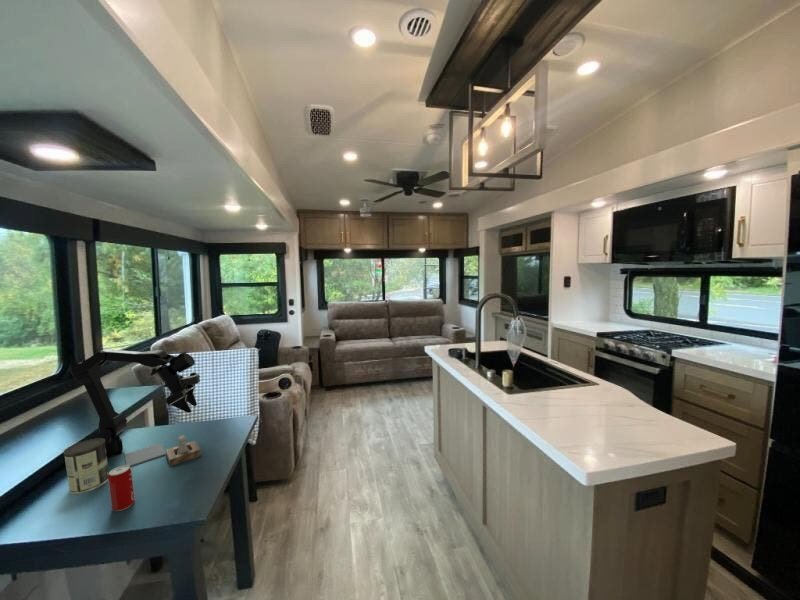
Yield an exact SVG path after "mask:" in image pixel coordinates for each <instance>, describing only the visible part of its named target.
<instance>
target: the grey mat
mask: <svg viewBox="0 0 800 600" xmlns="http://www.w3.org/2000/svg"><path fill="white" fill-rule="evenodd" d="M165 456H166V449H165V448H164V446H163V443H162V442H159V443H156V444H154V445H149V446H148V447H144V448H141V449H138V450H134V451H130V452H128V453H125V454H124V458H125V465H129V466H130V468H132V467H134V466H137V465H141V464H143V463H147V462H149V461H152V460H156V459H158V458H161V457H165Z"/></svg>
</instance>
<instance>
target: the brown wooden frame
mask: <svg viewBox="0 0 800 600" xmlns="http://www.w3.org/2000/svg"><path fill="white" fill-rule="evenodd" d="M186 445H187V448H188V449H189V450H190V451H187V452H184V453H181V454H178V455H177V452H178V450H179V445H176V446H174V447H171V448H168V449H167V448H166V449H165V453H166V455H165V456H166V459H167V461H168V464H169V466H170V467H172V466H175V465H178V464H181V463H184V462H186V461H190V460H193V459H196V458H198V457H200V456H202V452H201V448H200V447H199V444H198V443H197V442H196V440H191V441H189V442H186Z"/></svg>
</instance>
